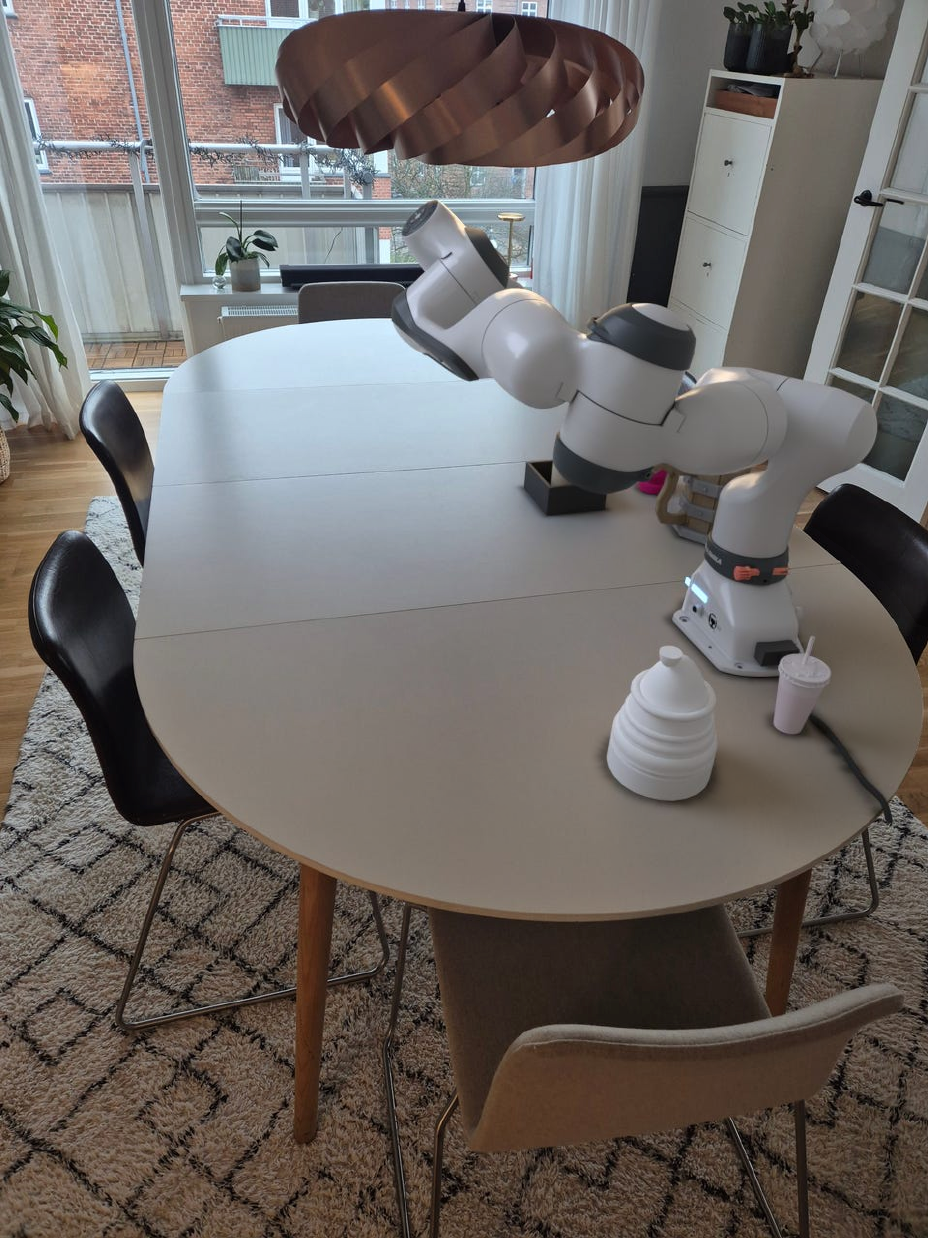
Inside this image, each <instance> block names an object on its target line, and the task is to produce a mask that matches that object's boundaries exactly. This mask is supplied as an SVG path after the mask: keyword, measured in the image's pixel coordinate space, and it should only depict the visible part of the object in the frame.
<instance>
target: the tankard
mask: <svg viewBox="0 0 928 1238" xmlns="http://www.w3.org/2000/svg"><path fill="white" fill-rule="evenodd" d="M652 469H653V472H654V474H656V473H658V472H659V471H661V470H665V471H666V472H667V476H666V479H665V483H664V486H663V488H662V489H661V491H660V493H659V495H657V496H656V499H655V503H654V513H655V515H656V517H657V520H658V522H659V523H660V524H662V525H670V526H672V527H673V528H674V530H675V531H676V532H677V534H678V535H679V536H680V537H681V538H683V539H687V540H690V541H692V542H696V543H699V544H701V545H704V546H705V545H706V541H707V539H708V536H709V533H710V532H711V531H712V530H713V526H714V521H715V516H716V511H717V507H718V502H719V498H720V494H721V492H722V490H723V488H724V487H725V486H726V484H727V483H728V482H730V481H731V480H732V479H734V478H736V477H738V476H741V475H744V474H748V473H752V472H751V471H752V467H749V468H746V469H743V470H739V471H736V472H732V473H728V474H723V475H712V476H705V475H695V474H690V473H686V472H683V471H680V470H678V469H676V468H674V467H673V466H671V465H668V464H665V463H659V464H656V465H654V468H652ZM680 477H682V481H683V483H684V484H685V486H684V491H683V492H681V493H680V494H679V498H678V503H677V505H678V506H679V507H680V510H678V512H674V513H671V512H668V505H669V502H670V500H671V498H672V496H673V495H674V493H675V492H676V490H677V486H678V482H679V479H680Z"/></svg>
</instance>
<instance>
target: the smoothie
mask: <svg viewBox="0 0 928 1238" xmlns="http://www.w3.org/2000/svg"><path fill="white" fill-rule="evenodd" d="M815 640H816V636H815V635H810V637H809V640H808V644H807V647H806V650H805V654H790V655H787V656H785V657H783V658H782V659H781V662H780V664H779V668H778V670H779V672H780V676H778V686H777V693H776V701H775V706H774V714H773V715H774V716H773V726H774V727H775V728H776V730H778V731H779V732H782V733H784V734H786V735H797V734H800V733H802V731H803V729H804V727H805V726H806V725H805V724H806V723H807V721H808V719H809V718H808V717H809V715H810V713H812V710H814V707H815V705H816V703H817V702H818V699H819V697H820V695H821V693H822V692H823V690H824V688H825V687H826V686H827V685H829V683H830V681H831V676H832V670H831V668H830V667H829V665H828V664H826V663H825V662H824V661H822V660H821V659H819V658H817V657H814V656H812V655H811V653H812V648H813V646H814V643H815Z"/></svg>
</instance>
